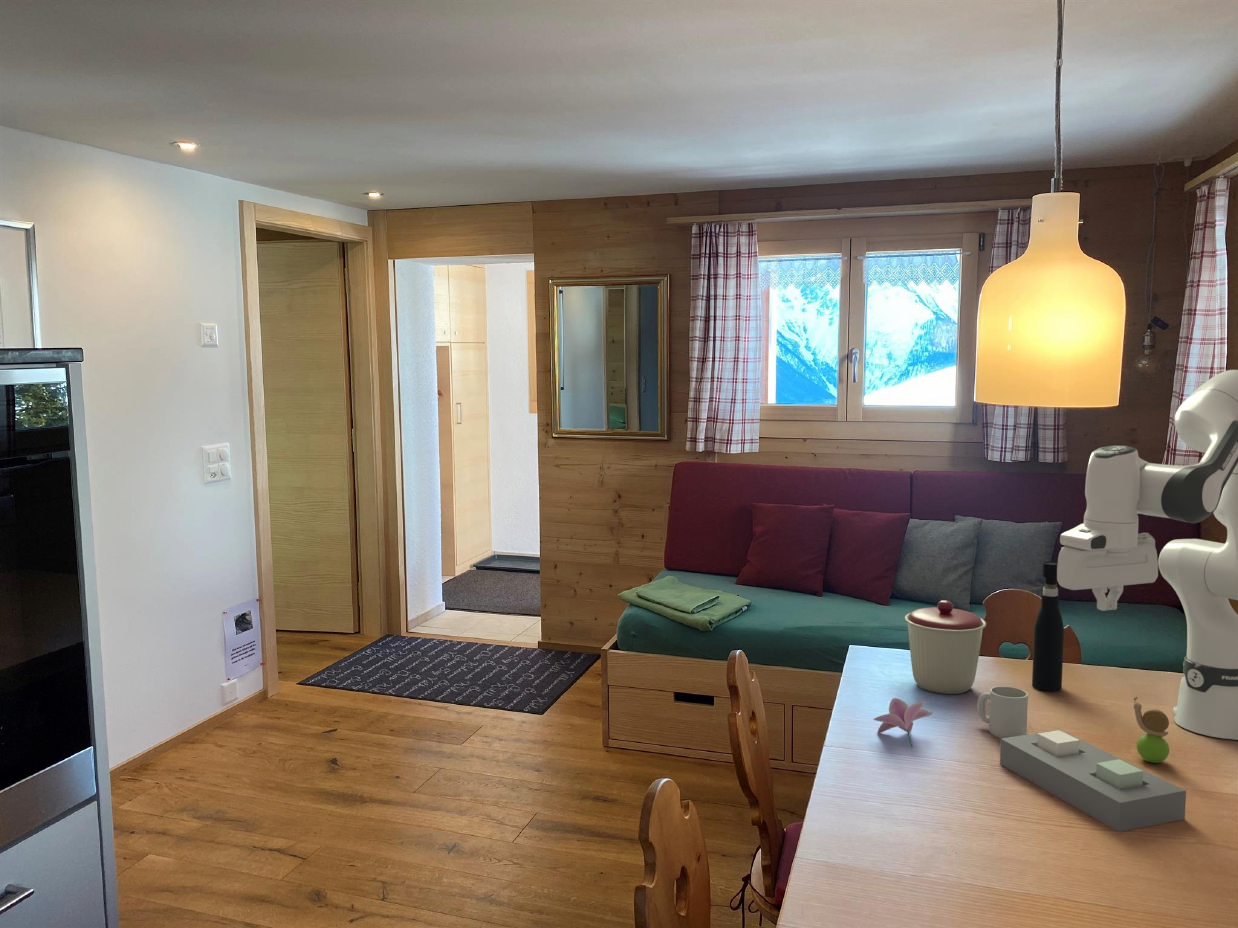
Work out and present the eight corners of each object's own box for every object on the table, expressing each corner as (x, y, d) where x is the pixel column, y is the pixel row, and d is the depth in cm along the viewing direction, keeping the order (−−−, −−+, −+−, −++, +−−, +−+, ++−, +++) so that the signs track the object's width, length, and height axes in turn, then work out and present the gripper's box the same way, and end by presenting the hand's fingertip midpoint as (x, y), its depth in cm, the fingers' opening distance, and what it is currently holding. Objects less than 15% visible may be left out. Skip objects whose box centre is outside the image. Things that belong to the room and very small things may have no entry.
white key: (1058, 755, 177) (1059, 730, 176) (1078, 766, 172) (1079, 739, 171) (1036, 758, 175) (1037, 733, 175) (1056, 769, 170) (1057, 743, 170)
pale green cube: (1118, 786, 163) (1119, 759, 163) (1141, 798, 159) (1143, 770, 158) (1095, 790, 162) (1096, 762, 161) (1118, 803, 157) (1119, 774, 157)
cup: (1019, 743, 188) (1021, 700, 187) (970, 731, 194) (971, 689, 194) (1031, 732, 193) (1032, 691, 192) (982, 721, 200) (984, 680, 199)
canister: (977, 677, 228) (980, 593, 226) (989, 703, 210) (992, 612, 208) (900, 672, 232) (902, 589, 230) (906, 697, 215) (908, 608, 212)
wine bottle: (1066, 691, 217) (1071, 565, 214) (1038, 692, 217) (1043, 565, 214) (1054, 682, 224) (1059, 560, 221) (1027, 682, 224) (1031, 560, 221)
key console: (1059, 754, 182) (1060, 729, 182) (1184, 818, 156) (1186, 790, 155) (999, 763, 178) (1000, 738, 178) (1118, 831, 152) (1119, 802, 151)
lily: (943, 743, 191) (929, 696, 195) (938, 740, 181) (924, 691, 184) (885, 754, 194) (872, 708, 198) (877, 753, 184) (864, 704, 188)
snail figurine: (1135, 751, 183) (1138, 692, 182) (1172, 761, 179) (1175, 700, 177) (1126, 760, 179) (1129, 699, 178) (1163, 770, 175) (1166, 708, 174)
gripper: (1140, 529, 176) (1136, 600, 177) (1052, 535, 170) (1049, 609, 171) (1169, 534, 170) (1165, 608, 171) (1079, 541, 164) (1075, 618, 165)
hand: (1106, 609), depth 171 cm, fingers closed
